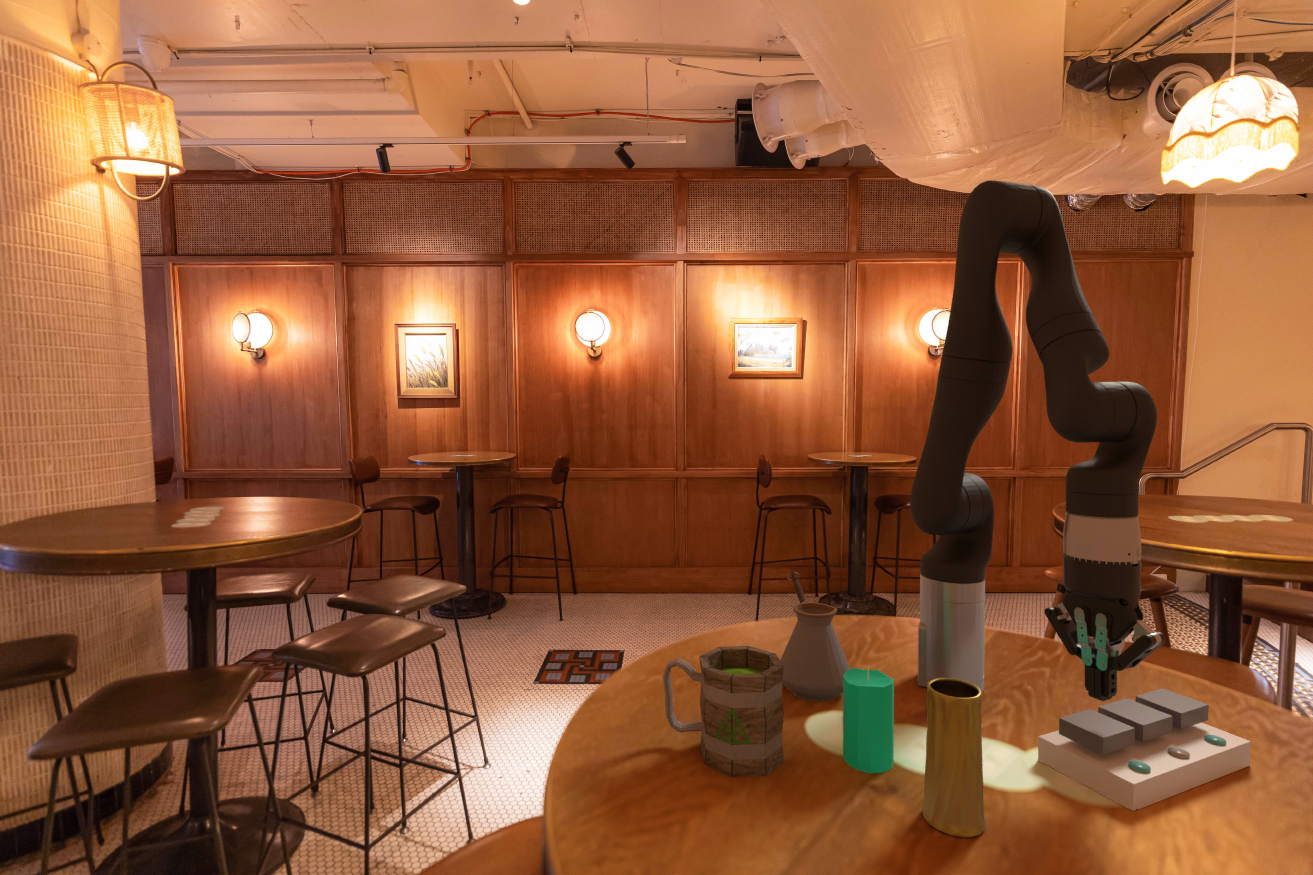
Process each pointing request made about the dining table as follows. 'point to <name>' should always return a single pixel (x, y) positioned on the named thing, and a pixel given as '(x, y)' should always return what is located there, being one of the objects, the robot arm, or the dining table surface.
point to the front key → (1097, 731)
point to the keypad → (1149, 763)
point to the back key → (1176, 707)
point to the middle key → (1139, 718)
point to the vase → (954, 758)
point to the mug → (736, 709)
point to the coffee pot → (813, 652)
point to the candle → (868, 720)
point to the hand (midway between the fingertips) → (1100, 697)
